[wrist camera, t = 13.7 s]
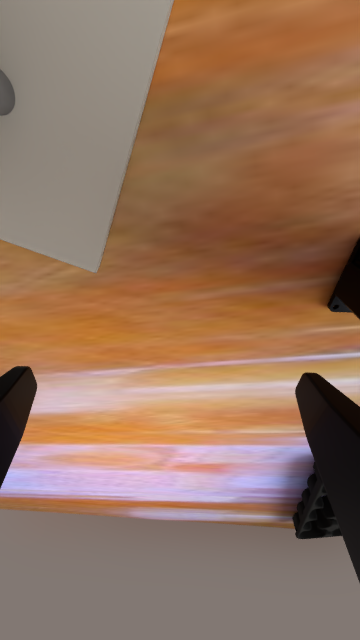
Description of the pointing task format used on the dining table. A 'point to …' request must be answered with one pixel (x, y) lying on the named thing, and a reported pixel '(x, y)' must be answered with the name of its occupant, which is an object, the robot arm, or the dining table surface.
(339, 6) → the dining table surface
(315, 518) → the black muffin pan
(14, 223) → the peg plate
